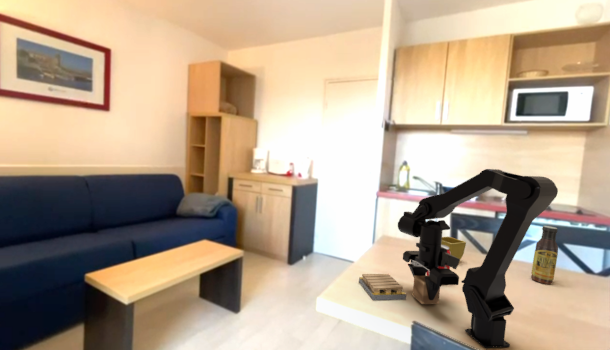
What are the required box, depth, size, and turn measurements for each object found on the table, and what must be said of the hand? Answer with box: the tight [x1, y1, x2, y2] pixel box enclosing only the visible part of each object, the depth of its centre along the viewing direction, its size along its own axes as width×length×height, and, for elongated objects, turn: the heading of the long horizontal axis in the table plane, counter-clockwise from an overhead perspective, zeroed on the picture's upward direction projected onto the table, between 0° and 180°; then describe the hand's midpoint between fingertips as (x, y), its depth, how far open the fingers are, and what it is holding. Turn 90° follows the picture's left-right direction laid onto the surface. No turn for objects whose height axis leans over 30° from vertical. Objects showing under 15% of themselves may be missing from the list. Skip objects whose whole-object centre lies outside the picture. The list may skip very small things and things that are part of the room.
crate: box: [412, 275, 441, 305], centre depth 83 cm, size 5×5×6 cm
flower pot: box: [441, 236, 467, 260], centre depth 119 cm, size 9×9×9 cm
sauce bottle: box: [530, 225, 559, 285], centre depth 103 cm, size 6×6×20 cm
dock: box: [358, 276, 407, 301], centre depth 89 cm, size 12×10×2 cm
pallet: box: [361, 273, 404, 293], centre depth 89 cm, size 10×9×2 cm
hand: (425, 295), depth 83 cm, fingers closed on crate, 5 cm apart
